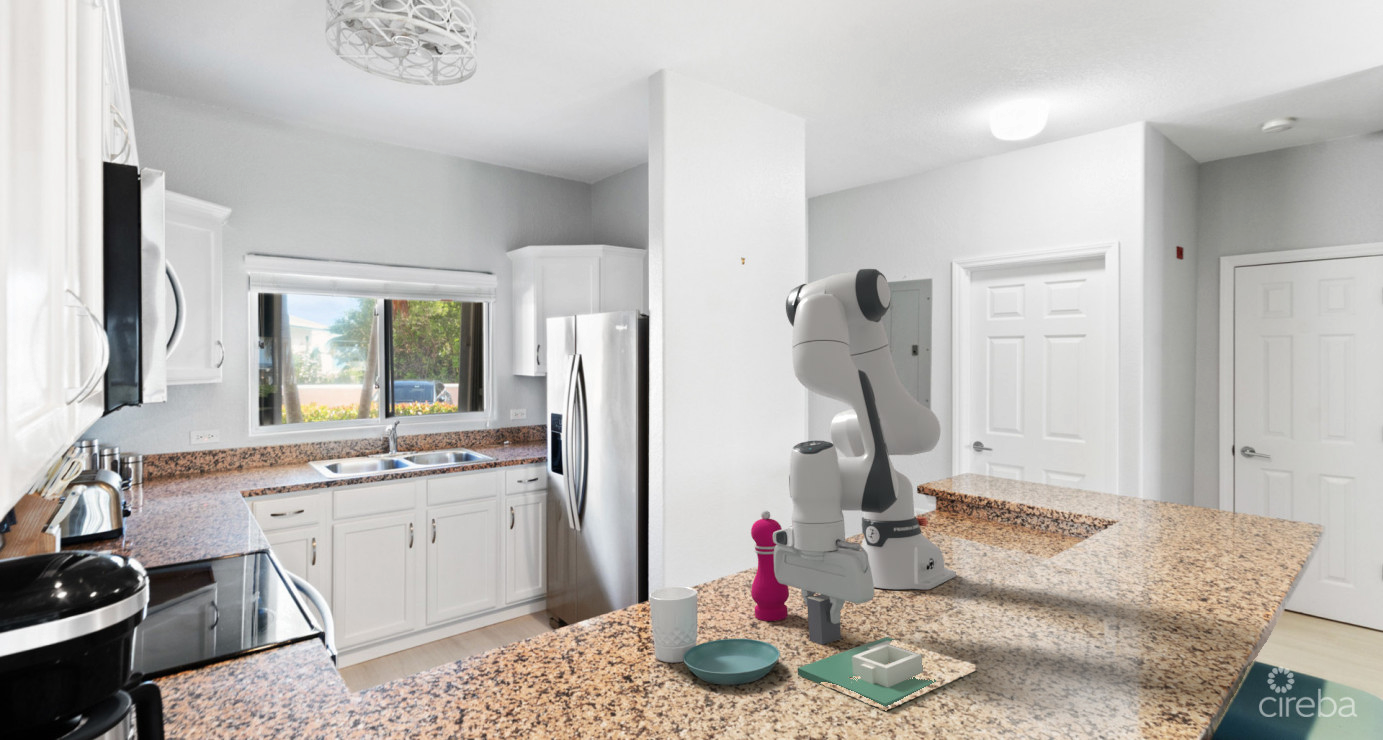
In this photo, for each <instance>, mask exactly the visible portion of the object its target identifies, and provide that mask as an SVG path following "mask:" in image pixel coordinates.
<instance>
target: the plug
mask: <svg viewBox="0 0 1383 740" xmlns="http://www.w3.org/2000/svg"><path fill="white" fill-rule="evenodd" d="M832 604H833V603H830V596H826V595H822V594H817V595H814V596H810V597H807V605H806V608H807V622H808V623H807V625H808V639H809V641H810V642H813V643H816V644H819V645H822V646H823V645H827V644H829V643H832V642H835V641H836V642H837V641H839V640H841V639H842V631H841V621H840V622H839V623H836V624H833V623H830V622H828V621H827V615H826V612H827V611H830V610H831V607H832Z"/></svg>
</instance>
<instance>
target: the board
mask: <svg viewBox="0 0 1383 740" xmlns="http://www.w3.org/2000/svg"><path fill="white" fill-rule="evenodd" d="M892 640H896V639H894V638H892V637H888V636H885V637H882V638H879V639H875V640H873V641H870V642H868V643H865V644H862V645H859V646H856V647H854V648H849V649H847V650H845V651H841V652H839V653H836V654H833V655H831V656H827V657H825V658H822V659H819V660H817V661H816V660H815V661H813V662H811V663H807V664H805V665H802V666H799V667H797V668H796V669H797V676H799V677H802V678H804V679H807V680H809V681H812V682H814V683H816V684H818V683H821V682H828V683H832V684H836V685H839V686H841V687H844V688H846V689H848V690H851V691H854V692H856V693H858V694H860V695H862V696H864V697H866V698H869V699H871V700H873V701H875V702H877V703H879V704H881V705H883V706H885V707H886V706H888V705H891V704H893V703H894V702H897V701H899V700H901V699H903V698H904V697H906V696H908V695H910V694H912V693H914V692H916V691H918V690H920V689H922V688H924V687H926V686H928V685H930V684H932V683H934V682H936V680H935V679H934V682H933V681H932V680H930V679H929V681H928V680H925V679H924V681H923V680H922V679H921V680H920V679H919V680H918V679H916V678H915V677H913V676H916V675H918V674H920V673H922V672H923V665H922V654H918V653H915V652H912V651H909V650H906V649H902V648H899V647H896V646H893V645H890V644H889V643H890V642H891V641H892ZM888 663H890V664H888ZM886 664H887V665H886ZM853 676H860V677H861V679H858V678H857V679H858V680H857V679H856V678H855V677H854V678H855V679H856V680H857V681H858V682H857V681H856V680H855V679H854V678H853ZM848 677H852V678H853V679H854V680H853V679H850V678H848ZM912 677H913V679H912ZM910 678H911V679H910ZM908 679H909V680H908ZM851 682H852V683H851ZM867 682H868V683H867Z"/></svg>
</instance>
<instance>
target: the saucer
mask: <svg viewBox="0 0 1383 740" xmlns="http://www.w3.org/2000/svg"><path fill="white" fill-rule="evenodd" d="M780 652H781V651H780V650H779V648H777V647H776V646H775V645H774V644H771V643H770V642H766V641H763V640H757V639H751V638H727V639H726V638H725V639H714V640H710V641H706V642H703V643H702V642H701V643H700V644H697V646H694V647H692V648H691V649H689V650H688V651H686V653H685V654H684V656H683V660H684V663H685V665H686V666H687V668H688V669H689V670H690V671H691V672H692V674H694V675H695V676H696V677H697V678H699V679H701V681H705V682H707V683H711V684H716V685H720V686H721V685H722V686H724V685H725V686H735V685H744V684H748V683H752V682H756V681H758V680H760V679H762V678H764V677H765V676H766V675H768V674H769V672H771V671H772V670H773V668H774V667H775V666H776V665H777V663H778V660H779V659H780V657H781V653H780Z"/></svg>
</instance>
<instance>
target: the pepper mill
mask: <svg viewBox="0 0 1383 740" xmlns="http://www.w3.org/2000/svg"><path fill="white" fill-rule="evenodd" d="M760 516H761V518H760V519H757V520H756V521H754V523H753V524H752V526H751V529H750V534H751V538H752V539H753V541H754V542H755V544H754V546H753V547H754V552H755V553H756V556H757V571H756V573H755V576H754V579H753V582H752V585H751V591H750V592H751V593H750V594H751V595H750V596H751V598H752V600H753V601H754V602H755V604H756V605H755V606H754V617H755V618H756V619H757V620H760V621H765V622H777V621H782V620H786V619H787V617H789V616H788V615H789V614H788V613H789V611H788V606H787V605H786V604H785V603H787V601H788V599H789V597H790V590H789V586H788V585H784V584H780V583H779V582H778V581H777V579H776V577H775V571H774V548H775V546H776V545H777V544H775V543H774V541H773V533H774V532H775V531H778V530H782V529H783V528H782V526H781V524H780V523H779V522H778V521H777V520H775V519H773V518H771V513H770V511H768V510H763V511H761V513H760Z"/></svg>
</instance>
